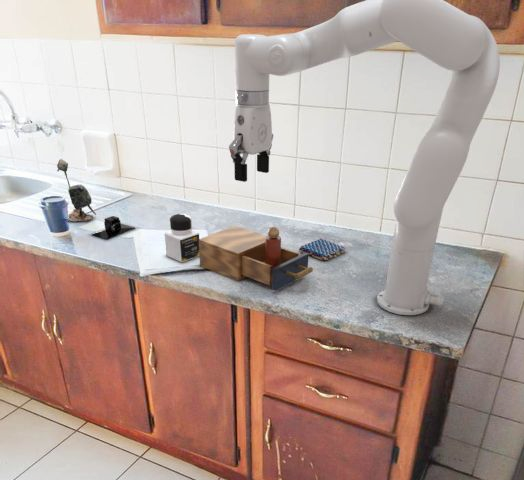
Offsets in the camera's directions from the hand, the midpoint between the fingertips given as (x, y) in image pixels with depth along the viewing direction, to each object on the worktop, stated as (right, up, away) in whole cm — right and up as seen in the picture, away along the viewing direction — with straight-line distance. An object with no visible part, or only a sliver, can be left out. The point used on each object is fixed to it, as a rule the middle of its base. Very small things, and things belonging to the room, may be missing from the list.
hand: (252, 176), depth 125 cm
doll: (+5, -21, +12) cm, 25 cm away
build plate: (-46, -4, +41) cm, 62 cm away
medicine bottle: (-21, -15, +26) cm, 36 cm away
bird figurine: (-59, +2, +51) cm, 78 cm away
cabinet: (-5, -18, +21) cm, 28 cm away
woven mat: (+20, -13, +29) cm, 38 cm away
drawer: (+7, -23, +12) cm, 27 cm away
